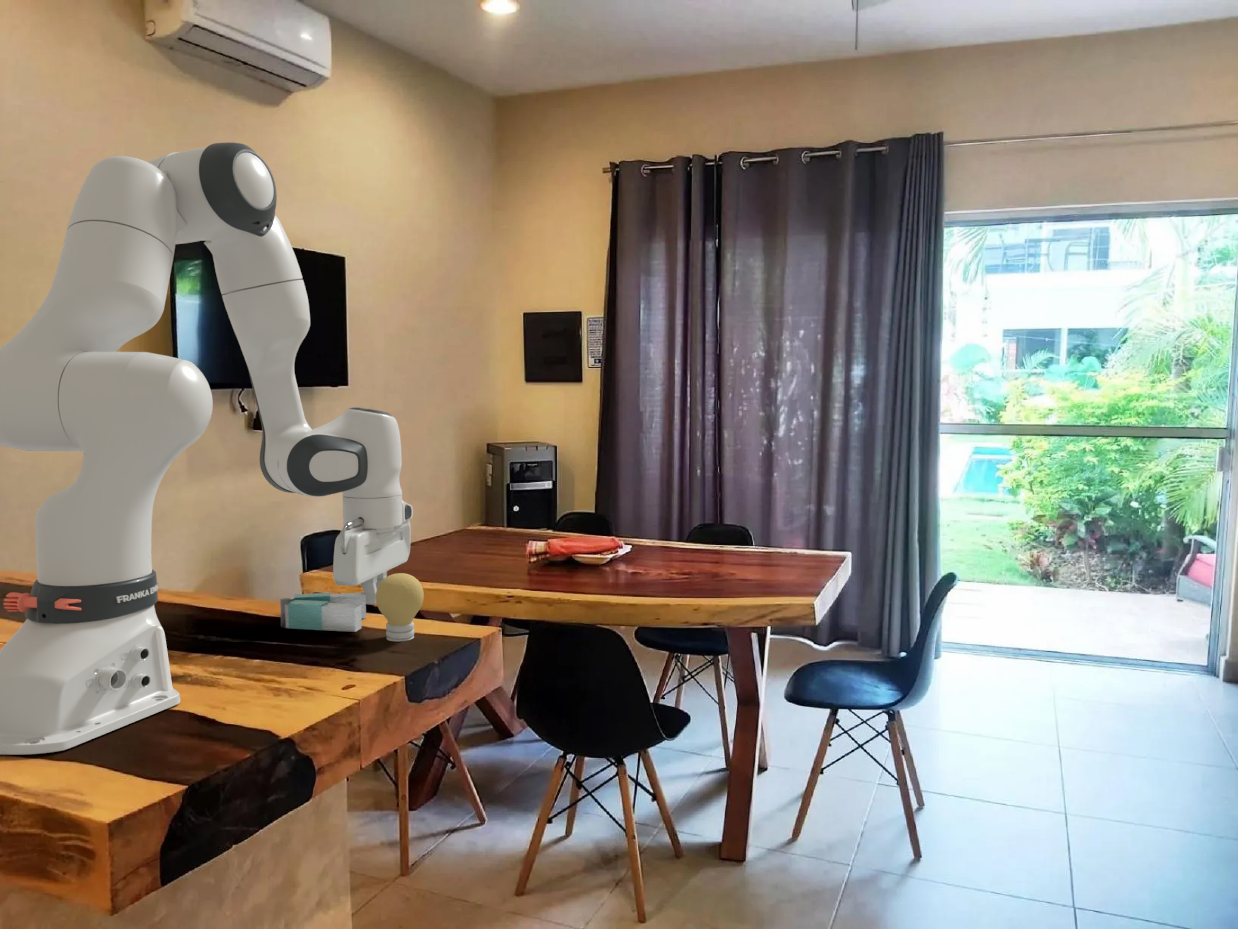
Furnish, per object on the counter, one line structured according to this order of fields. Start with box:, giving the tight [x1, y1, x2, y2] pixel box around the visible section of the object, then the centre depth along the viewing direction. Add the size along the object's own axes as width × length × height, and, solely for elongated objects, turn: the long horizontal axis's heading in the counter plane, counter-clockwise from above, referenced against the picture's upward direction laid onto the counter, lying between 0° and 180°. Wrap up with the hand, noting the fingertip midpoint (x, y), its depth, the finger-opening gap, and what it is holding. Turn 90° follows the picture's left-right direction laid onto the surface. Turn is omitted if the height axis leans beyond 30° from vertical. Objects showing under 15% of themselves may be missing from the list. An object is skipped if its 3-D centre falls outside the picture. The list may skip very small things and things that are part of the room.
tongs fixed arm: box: [279, 597, 363, 633], centre depth 128 cm, size 2×12×4 cm, turn 81°
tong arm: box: [289, 591, 367, 620], centre depth 132 cm, size 2×10×4 cm, turn 106°
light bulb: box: [376, 572, 425, 642], centre depth 123 cm, size 6×6×10 cm
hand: (374, 602), depth 139 cm, fingers closed
